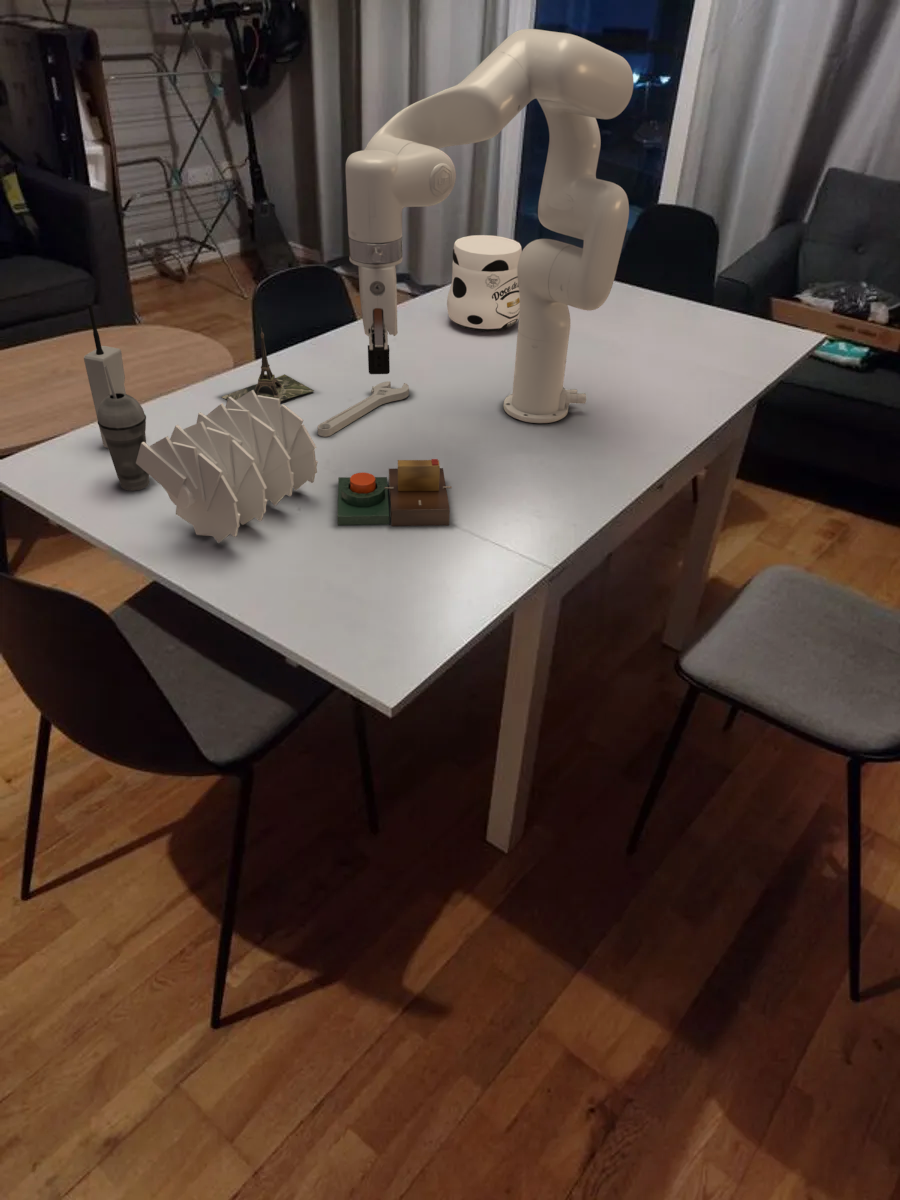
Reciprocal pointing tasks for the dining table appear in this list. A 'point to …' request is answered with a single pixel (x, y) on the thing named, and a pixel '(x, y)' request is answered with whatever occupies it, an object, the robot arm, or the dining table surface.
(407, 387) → the adjustable wrench
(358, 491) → the button
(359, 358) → the dining table surface
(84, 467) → the dining table surface
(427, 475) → the yellow box red tab
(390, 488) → the control panel
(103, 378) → the vintage mobile phone
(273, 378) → the eiffel tower figurine
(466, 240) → the milk container
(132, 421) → the beverage cup
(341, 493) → the button housing
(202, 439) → the spiral staircase
